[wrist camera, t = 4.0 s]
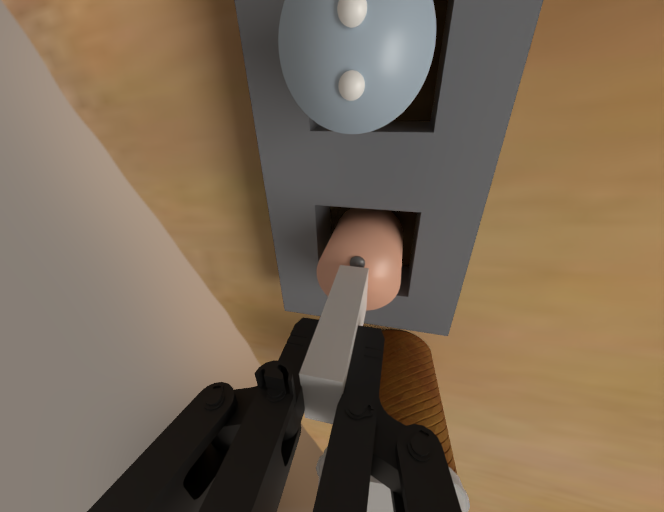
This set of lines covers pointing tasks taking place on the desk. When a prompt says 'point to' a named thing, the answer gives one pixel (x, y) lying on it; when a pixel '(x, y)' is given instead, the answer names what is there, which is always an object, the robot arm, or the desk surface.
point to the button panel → (391, 158)
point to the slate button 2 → (356, 58)
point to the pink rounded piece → (366, 253)
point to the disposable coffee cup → (409, 406)
